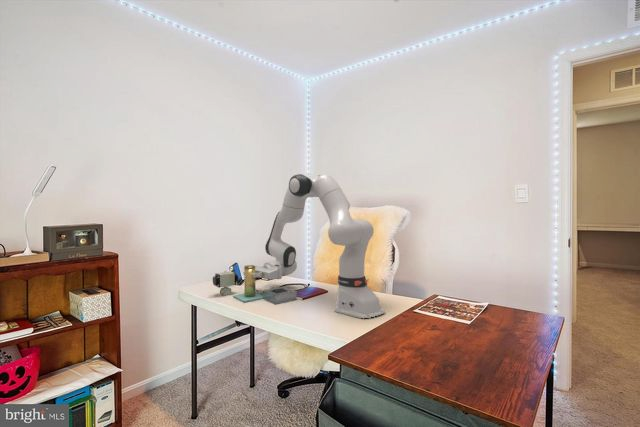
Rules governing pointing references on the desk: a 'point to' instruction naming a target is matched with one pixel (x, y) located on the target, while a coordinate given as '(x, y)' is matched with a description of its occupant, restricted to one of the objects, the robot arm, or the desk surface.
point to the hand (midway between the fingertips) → (248, 274)
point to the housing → (279, 295)
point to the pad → (248, 297)
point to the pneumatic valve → (225, 281)
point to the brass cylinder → (249, 280)
